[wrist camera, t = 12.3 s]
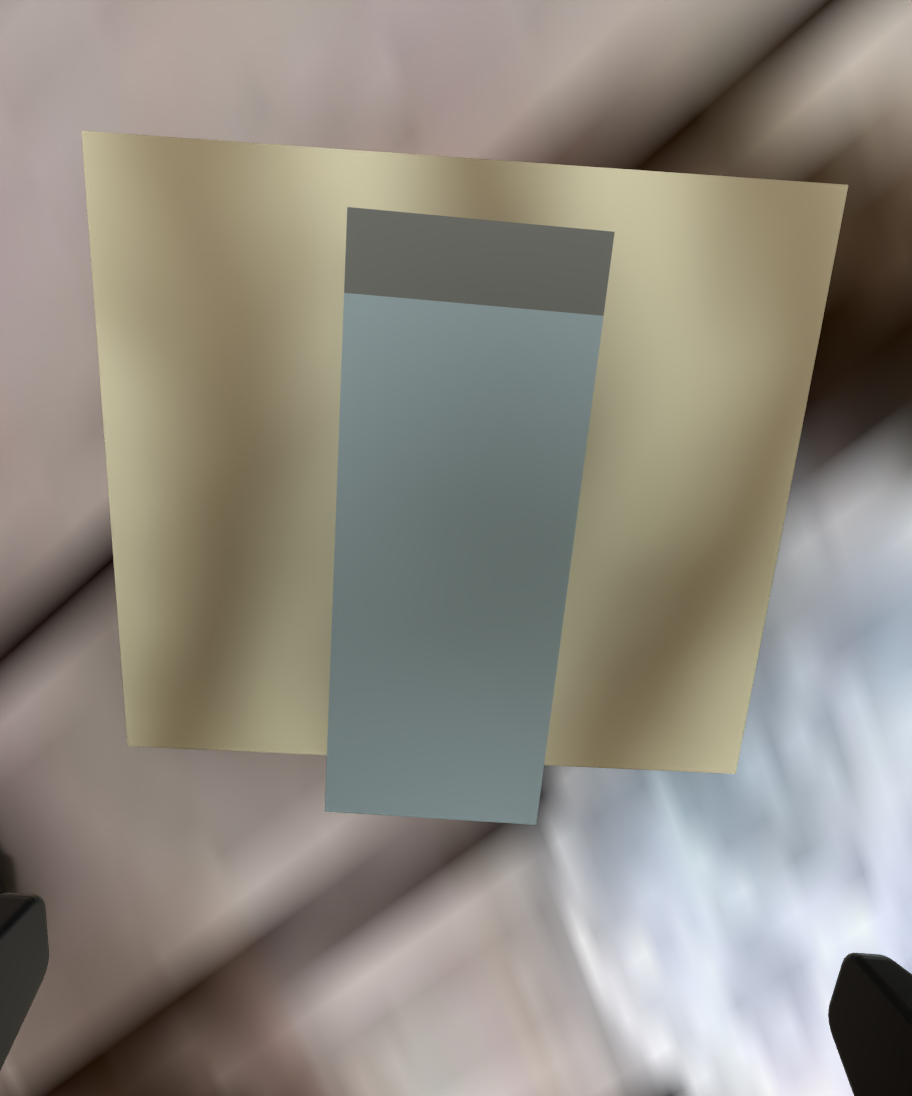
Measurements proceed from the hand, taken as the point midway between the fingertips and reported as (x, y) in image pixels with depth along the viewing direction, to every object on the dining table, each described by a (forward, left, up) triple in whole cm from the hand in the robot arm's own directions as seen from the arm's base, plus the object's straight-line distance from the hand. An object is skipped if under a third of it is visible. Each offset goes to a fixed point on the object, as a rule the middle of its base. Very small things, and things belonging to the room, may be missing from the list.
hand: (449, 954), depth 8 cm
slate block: (0, -4, -10) cm, 11 cm away
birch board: (0, +3, -13) cm, 13 cm away
